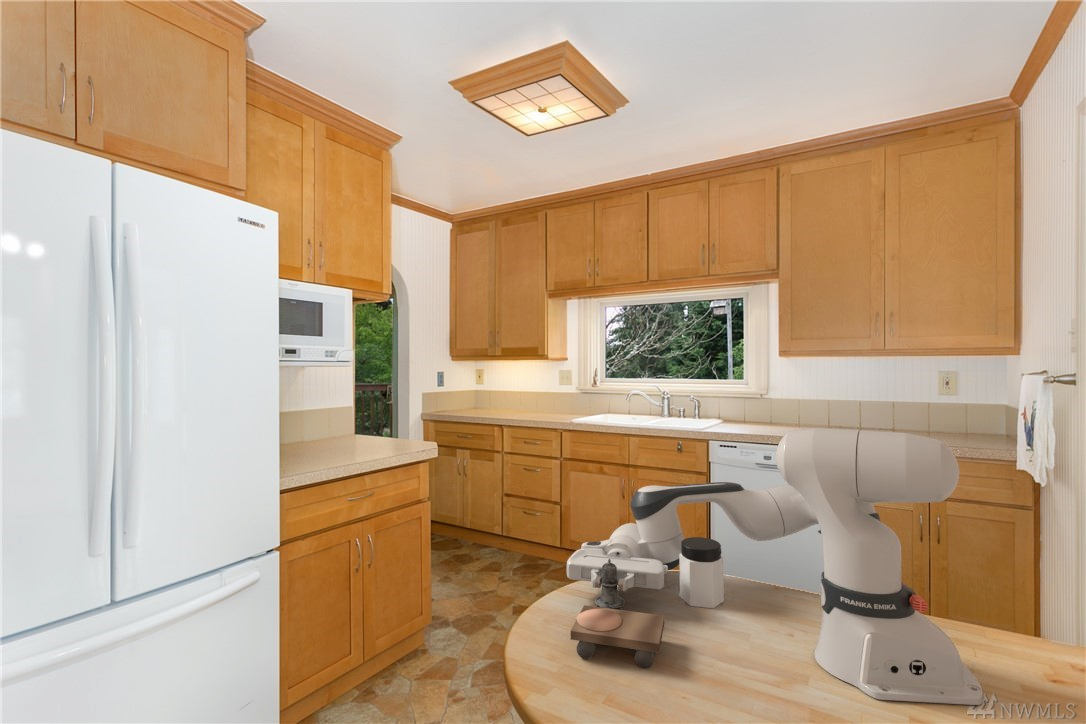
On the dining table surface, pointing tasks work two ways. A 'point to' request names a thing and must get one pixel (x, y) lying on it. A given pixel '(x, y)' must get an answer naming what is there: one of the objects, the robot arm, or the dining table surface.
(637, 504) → the robot arm
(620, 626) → the roller slab
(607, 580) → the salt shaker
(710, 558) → the jar
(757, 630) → the dining table surface
